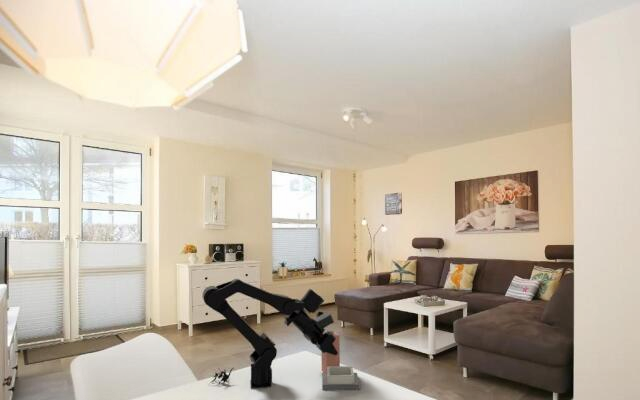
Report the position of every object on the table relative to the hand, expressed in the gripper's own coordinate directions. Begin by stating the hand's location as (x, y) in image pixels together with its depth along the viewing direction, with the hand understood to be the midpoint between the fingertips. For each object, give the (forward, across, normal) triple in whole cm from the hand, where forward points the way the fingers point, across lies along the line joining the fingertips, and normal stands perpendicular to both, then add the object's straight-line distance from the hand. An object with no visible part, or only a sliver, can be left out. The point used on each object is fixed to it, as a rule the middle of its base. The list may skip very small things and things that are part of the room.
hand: (334, 351), depth 137 cm
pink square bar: (+4, 0, +6) cm, 7 cm away
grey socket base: (+4, -10, +6) cm, 12 cm away
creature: (-22, +7, +33) cm, 40 cm away
